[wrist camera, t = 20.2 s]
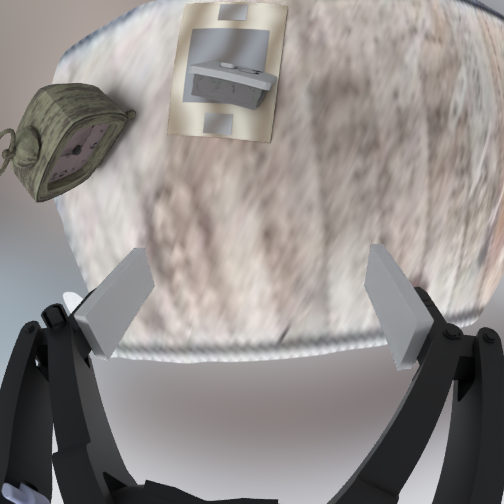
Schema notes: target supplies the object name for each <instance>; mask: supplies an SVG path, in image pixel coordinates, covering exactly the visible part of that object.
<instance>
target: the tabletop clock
mask: <svg viewBox="0 0 504 504" xmlns="http://www.w3.org/2000/svg"><path fill="white" fill-rule="evenodd" d="M134 117H135V111H134V110H128V111H127V112H126V113H124V112H123V111H122V110H121V109H120V108H119V107H118V106H117V105H116V104H115V103H114V102H113V101H112V100H111V99H109V98H108V97H107V96H106V95H105V94H104V93H103V92H102V91H101V90H100V89H99V88H98V87H96V86H93V85H88V84H82V83H69V84H53V85H48V86H45V87H43V88H41V89H39V90H38V92H37V93H36V94H35V95H34V96H33V98H32V99H31V101H30V103H29V105H28V107H27V109H26V111H25V113H24V115H23V117H22V119H21V121H20V124H19V126H18V129H17V132H16V134H15V132H14V130H13V129H6V130H4V131H2V132H1V133H0V139H1V137H2V136H4V135H5V134H6V133H11V143H10V146H9V149H6V150H4V151H3V152H2V157H3V158H4V159H5V161H4V163H3V165H2V167H1V169H0V176H1V174H2V173H3V172H4V171H5V169H6V167H7V165H8V163H9V161H10V159H11V169H12V170H13V172H14V173H15V175H16V176H17V177H18V179H19V180H20V182H21V183H22V184H23V186H24V187H25V188H26V190H27V191H28V192H29V194H30V195H31V196H32V197H33V199H34V200H35V201H36V202H44V201H47V200H50V199H52V198H54V197H57V196H59V195H61V194H63V193H65V192H67V191H69V190H71V189H73V188H75V187H76V186H78V185H80V184H81V183H83V182H84V181H85V180H87V179H88V178H89V177H90V176H91V175H92V173H93V172H94V171H95V169H96V168H98V167H99V166H100V165H101V161H102V159H103V158H104V157H105V155H106V154H107V152H108V151H109V149H110V148H111V146H112V145H113V143H114V142H115V140H116V139H117V137H118V136H119V134H120V133H121V131H122V130H123V128H124V126H125V125H126V123H127V121H128V119H133V118H134Z"/></svg>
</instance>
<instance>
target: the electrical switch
mask: <svg viewBox="0 0 504 504" xmlns="http://www.w3.org/2000/svg"><path fill="white" fill-rule="evenodd" d="M188 71H189V73H194V79H193V88H192V93H191V95H194V96H199V97H203V98H208V99H212V100H217V101H221V102H225V103H229V104H233V105H237V106H241V107H244V108H248V109H251V110H255V108H256V109H257V107H258V106H259V105H260V104H261V102H262V101H263V100H264V98H265V95H266V92H268V90H270V89H271V88H270V87H271V86H272V85H273V84H274V83H276V81H277V77H276V76H274V75H272V74H268V73H265V72H261V71H257V70H253V69H250V68H245V67H241V66H237V65H233V64H229V63H223V62H218V61H209V62H203V63H198V64H193V65H190V67H189V70H188ZM218 87H219V88H218ZM217 88H218V89H217ZM233 91H234V94H233ZM204 94H205V95H204ZM256 105H257V106H256Z"/></svg>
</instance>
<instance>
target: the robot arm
mask: <svg viewBox="0 0 504 504" xmlns="http://www.w3.org/2000/svg"><path fill="white" fill-rule="evenodd" d="M364 286H365V289H366V291H367V293H368V296H369V298H370V300H371V303H372V305H373V307H374V310H375V312H376V315H377V317H378V319H379V322H380V324H381V327H382V330H383V332H384V335H385V337H386V340H387V343H388V345H389V348H390V350H391V353H392V356H393V359H394V361H395V365H396V367H397V370H403V369H409V368H413V366H414V364H415V362H416V360H418V362H419V365H420V366H419V368H418V370H417V372H416V374H415V376H414V377H413V379H412V382H411V384H410V386H409V388H408V390H407V392H406V394H405V396H404V398H403V400H402V402H401V404H400V405H399V407H398V409H397V411H396V412H395V414H394V416H393V417H392V419H391V421H390V422H389V424H388V426H387V427H386V429H385V430H384V432H383V433H382V435H381V436H380V438H379V440H378V441H377V442H376V444H375V445H374V447H373V448H372V450H371V451H370V452H369V454H368V455H367V457H366V458H365V459H364V461H363V462H362V463H361V465H360V466H359V467H358V469H357V470H356V471H355V473H354V474H353V475H352V476H351V477H350V479H349V480H348V481H347V482H346V484H345V485H344V486H343V487H342V488H341V489H340V490H339V492H338V493H337V494H336V495H335V496H334V497H333V498H332V499H331V500H330V501H329V502H328V503H327V504H397V502H398V500H399V493H400V491H401V489H402V488H403V486H404V484H405V483H406V481H407V480H408V478H409V476H410V474H411V473H412V471H413V469H414V468H415V466H416V464H417V462H418V460H419V459H420V457H421V454H422V453H423V451H424V449H425V447H426V445H427V443H428V441H429V439H430V437H431V434H432V432H433V430H434V428H435V426H436V423H437V421H438V418H439V416H440V414H441V411H442V409H443V406H444V403H445V401H446V398H447V395H448V392H449V389H450V387H451V383H452V380H454V388H453V402H452V413H451V421H450V429H449V436H448V442H447V447H446V452H445V458H444V463H443V467H442V471H441V475H440V479H439V482H438V486H437V489H436V493H435V496H434V499H433V502H432V504H501V501H502V496H503V491H504V355H503V349H502V344H501V339H500V337H499V335H498V334H497V333H496V332H495V331H494V330H492V329H490V328H487V327H484V328H481V329H480V330H479V331H478V333H477V335H476V336H470V335H463V332H462V330H460V328H459V327H457V326H456V325H454V324H450V323H447V322H446V321H445V319H444V318H443V316H442V314H441V313H440V311H439V310H438V308H437V307H436V306H435V304H434V302H433V301H432V300H431V298H430V296H429V295H428V293H427V292H426V291H424V290H423V289H422V288H420V287H413V286H412V285H411V283H410V282H409V280H408V279H407V277H406V276H405V274H404V273H403V271H402V270H401V269H400V267H399V266H398V264H397V263H396V262H395V260H394V259H393V257H392V256H391V255H390V253H389V252H388V250H387V249H386V248H385V246H384V245H383V244H371V246H370V253H369V260H368V266H367V272H366V278H365V284H364ZM154 287H155V285H154V281H153V278H152V274H151V270H150V266H149V262H148V258H147V254H146V250H145V248H134V249H133V250H132V251H131V252H130V253H129V254H128V255H127V256H126V257H125V258H124V259H123V260H122V261H121V262H120V263H119V264H118V265H117V267H116V268H115V269H114V270H113V271H112V272H111V273H110V274H109V275H108V276H107V277H106V278H105V279H104V281H103V282H102V283H101V284H100V285H99V286H98V287H97V288H95V289H94V290H92V291H91V292H90V293H89V294H88V295H87V296H86V297H85V299H83V300H82V302H81V304H79V305H78V306H77V307H76V309H75V310H74V311H73V312H72V313H71V314H70V316H69V317H68V316H67V314H66V312H65V309H64V307H63V305H61V304H57V303H56V304H53V305H50V306H49V307H47V308H46V309H44V311H43V312H42V314H41V317H42V319H43V321H44V322H45V324H46V326H47V328H41V327H40V325H39V323H38V322H37V321H31V322H28V323H26V324H25V325H24V326H23V328H22V329H21V331H20V334H19V336H18V339H17V341H16V343H15V346H14V348H13V351H12V354H11V357H10V360H9V362H8V365H7V369H6V372H5V375H4V378H3V382H2V385H1V389H0V504H51V499H52V463H53V467H54V471H55V475H56V478H57V483H58V486H59V489H60V493H61V496H62V499H63V502H64V504H278V499H251V498H240V499H230V500H218V501H205V500H203V499H200V498H198V497H195V496H193V495H191V494H188V493H186V492H184V491H182V490H180V489H178V488H175V487H171V486H167V485H164V484H160V483H156V482H153V481H149V480H146V481H145V484H144V485H138V484H137V483H136V481H135V480H134V479H133V477H132V476H131V475H130V474H129V472H128V471H127V469H126V467H125V465H124V463H123V460H122V458H121V456H120V453H119V450H118V448H117V446H116V443H115V440H114V437H113V435H112V432H111V429H110V426H109V423H108V420H107V417H106V414H105V411H104V407H103V404H102V401H101V397H100V394H99V390H98V386H97V382H96V378H95V374H94V370H93V365H92V361H91V358H90V356H89V355H88V354H89V353H90V351H91V350H92V351H93V353H94V355H95V356H96V358H99V359H103V360H109V358H110V357H111V355H112V353H113V352H114V350H115V348H116V347H117V345H118V343H119V342H120V340H121V338H122V337H123V335H124V333H125V332H126V330H127V329H128V327H129V325H130V324H131V322H132V321H133V319H134V317H135V316H136V314H137V313H138V311H139V310H140V308H141V306H142V305H143V303H144V302H145V300H146V299H147V297H148V296H149V294H150V293H151V291H152V290H153V288H154ZM35 360H37V361H38V366H36V362H35ZM53 423H54V430H55V435H56V441H57V445H58V452H56V453H53V455H52V433H53Z"/></svg>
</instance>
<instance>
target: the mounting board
mask: <svg viewBox="0 0 504 504" xmlns="http://www.w3.org/2000/svg"><path fill="white" fill-rule="evenodd" d="M287 8H288V6H285V5H276V4H265V3H248V2H211V3H194V4H185V7H184V12H183V17H182V22H181V27H180V33H179V38H178V44H177V51H176V57H175V64H174V72H173V80H172V88H171V98H170V108H169V119H168V133H167V135H187V136H206V137H220V138H231V139H241V140H251V141H259V142H267V143H270V141H271V133H272V126H273V118H274V110H275V103H276V95H277V87H278V79H279V72H280V64H281V56H282V48H283V40H284V32H285V25H286V17H287ZM209 61H218V62H223V63H229V64H233V65H237V66H241V67H245V68H250V69H253V70H257V71H261V72H265V73H268V74H272V75H274V76H276V77H277V81H276V83H274V84H273V85H272V86H271V87H270V88H271V89H270V90H268V92H266V95H265V98H264V100H263V101H262V102H261V104H260V105H259V106H258V107H257V109H256V108H255V110H251V109H248V108H244V107H241V106H237V105H233V104H229V103H225V102H221V101H217V100H212V99H208V98H203V97H199V96H194V95H191V93H192V88H193V79H194V73H189V71H188V70H189V67H190V65H193V64H198V63H203V62H209ZM218 88H219V87H218ZM218 88H217V89H218ZM233 94H234V91H233ZM204 95H205V94H204ZM256 106H257V105H256Z"/></svg>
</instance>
